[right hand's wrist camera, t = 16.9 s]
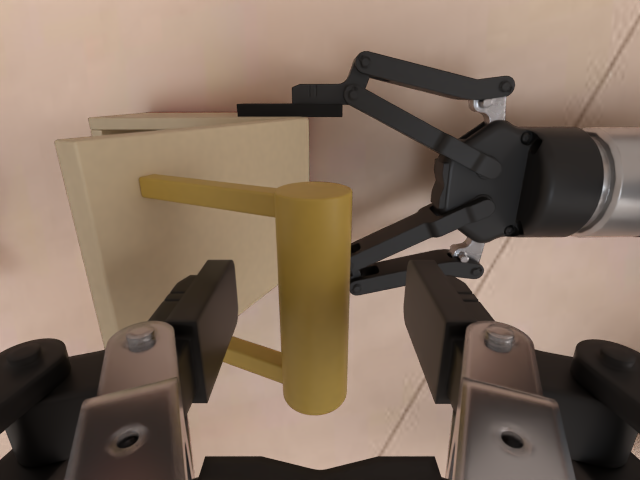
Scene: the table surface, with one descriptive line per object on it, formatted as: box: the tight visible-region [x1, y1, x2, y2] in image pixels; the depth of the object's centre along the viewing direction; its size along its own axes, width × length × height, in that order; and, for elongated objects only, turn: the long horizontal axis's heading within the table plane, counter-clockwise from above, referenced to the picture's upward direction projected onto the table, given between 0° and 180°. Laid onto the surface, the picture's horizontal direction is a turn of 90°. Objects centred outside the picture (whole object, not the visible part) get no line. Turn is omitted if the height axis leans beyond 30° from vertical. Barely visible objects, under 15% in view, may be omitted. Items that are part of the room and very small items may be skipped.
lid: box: [55, 118, 352, 415], centre depth 16 cm, size 14×9×8 cm
